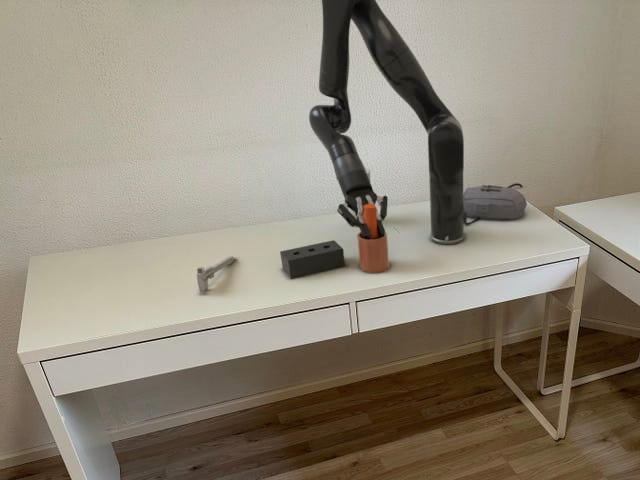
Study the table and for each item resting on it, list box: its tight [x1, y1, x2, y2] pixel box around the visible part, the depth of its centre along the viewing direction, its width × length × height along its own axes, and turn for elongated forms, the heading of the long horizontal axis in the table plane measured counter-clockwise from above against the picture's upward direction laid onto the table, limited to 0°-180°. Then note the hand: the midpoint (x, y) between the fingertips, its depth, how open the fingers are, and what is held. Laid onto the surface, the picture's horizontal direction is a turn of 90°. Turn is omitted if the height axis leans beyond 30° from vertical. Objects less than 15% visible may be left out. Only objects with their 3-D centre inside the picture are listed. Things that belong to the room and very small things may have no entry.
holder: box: [279, 239, 346, 280], centre depth 174 cm, size 6×14×5 cm, turn 122°
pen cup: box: [356, 231, 390, 274], centre depth 173 cm, size 7×7×9 cm
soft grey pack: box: [463, 184, 528, 221], centre depth 207 cm, size 15×8×20 cm
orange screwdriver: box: [363, 204, 378, 240], centre depth 171 cm, size 3×3×15 cm
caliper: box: [196, 255, 236, 294], centre depth 169 cm, size 20×1×6 cm, turn 176°
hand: (375, 237), depth 169 cm, fingers closed on orange screwdriver, 3 cm apart
